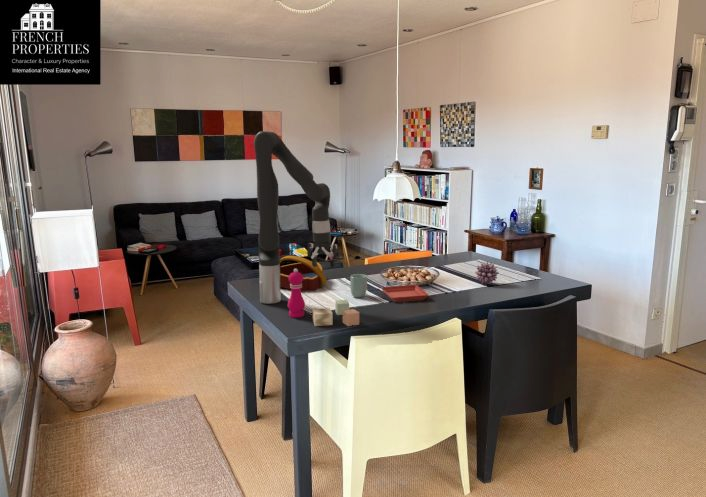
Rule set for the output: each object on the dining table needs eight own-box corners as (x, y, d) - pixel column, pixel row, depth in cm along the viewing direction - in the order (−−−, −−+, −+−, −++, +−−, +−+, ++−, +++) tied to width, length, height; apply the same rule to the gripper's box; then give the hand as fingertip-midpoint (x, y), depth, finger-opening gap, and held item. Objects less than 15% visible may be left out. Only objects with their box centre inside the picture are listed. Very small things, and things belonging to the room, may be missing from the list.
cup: (365, 299, 246) (365, 278, 244) (348, 298, 248) (348, 277, 246) (368, 294, 254) (368, 274, 252) (352, 293, 255) (352, 273, 253)
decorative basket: (256, 287, 276) (252, 259, 271) (297, 269, 296) (293, 243, 292) (301, 300, 254) (298, 271, 250) (342, 280, 275) (339, 252, 270)
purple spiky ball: (500, 283, 276) (502, 261, 273) (493, 288, 266) (494, 265, 263) (479, 280, 282) (480, 258, 279) (471, 285, 272) (472, 262, 269)
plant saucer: (391, 304, 240) (391, 297, 240) (380, 293, 258) (380, 286, 257) (429, 301, 244) (429, 294, 244) (415, 291, 262) (415, 284, 261)
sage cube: (337, 315, 223) (337, 303, 222) (335, 311, 228) (335, 300, 227) (349, 314, 224) (349, 303, 223) (346, 311, 229) (346, 299, 228)
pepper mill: (288, 312, 226) (287, 266, 222) (305, 312, 226) (304, 266, 223) (287, 318, 219) (286, 270, 215) (305, 317, 219) (304, 270, 216)
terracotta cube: (347, 326, 210) (348, 314, 209) (342, 322, 214) (342, 310, 213) (359, 324, 212) (359, 312, 211) (353, 320, 216) (353, 309, 215)
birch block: (314, 326, 210) (314, 314, 209) (312, 320, 216) (312, 308, 215) (332, 325, 211) (332, 313, 210) (329, 319, 218) (329, 308, 217)
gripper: (302, 231, 228) (305, 268, 232) (332, 232, 222) (334, 270, 225) (311, 228, 235) (313, 264, 238) (340, 229, 229) (342, 266, 232)
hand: (323, 267), depth 232 cm, fingers open, 8 cm apart
